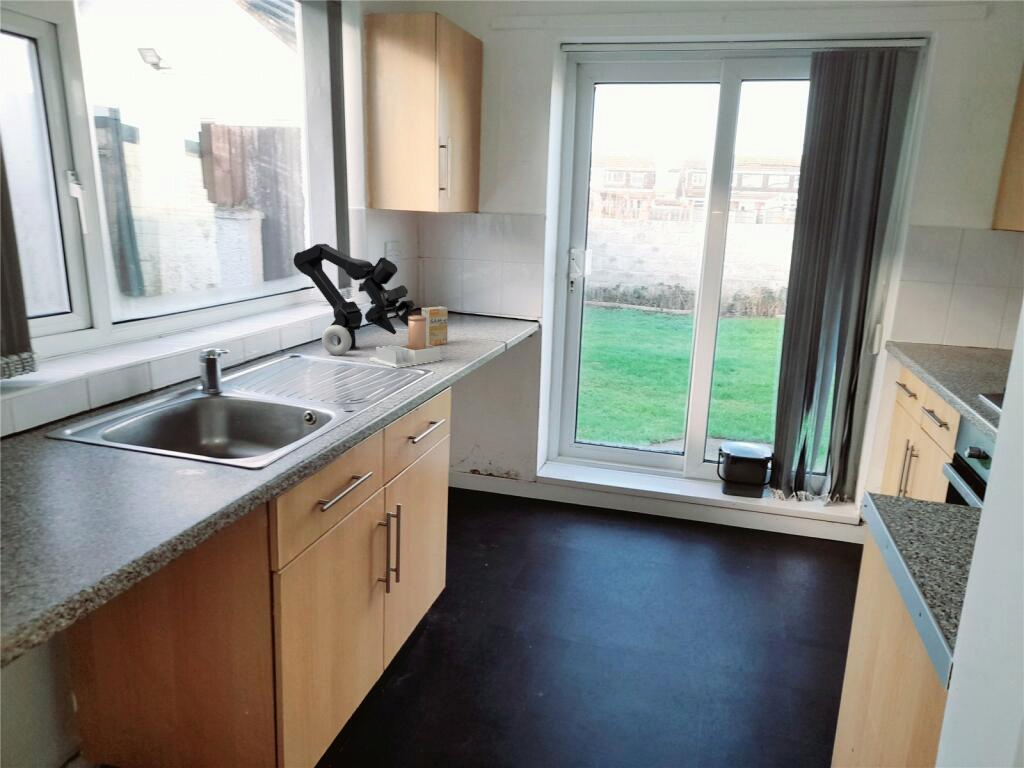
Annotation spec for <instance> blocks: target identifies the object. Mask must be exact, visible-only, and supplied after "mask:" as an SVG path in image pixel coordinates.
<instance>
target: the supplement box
mask: <svg viewBox="0 0 1024 768" xmlns="http://www.w3.org/2000/svg"><path fill="white" fill-rule="evenodd" d="M448 311H449V310H448V307H446V306H431V307H421V316H426V344H429V345H433V346H439V345H447V344H448V324H449V323H448V316H449V315H448Z"/></svg>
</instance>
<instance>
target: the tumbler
mask: <svg viewBox="0 0 1024 768" xmlns="http://www.w3.org/2000/svg"><path fill="white" fill-rule="evenodd" d="M407 328H408V330H407V331H408V332H407V333H408V335H407V336H408V341H407V342H408V343H407V344H408V349H411V350H414V351H416V350H422V349H426V316H422V315H417V314H416V315H415V314H414V315H412V316H409V317H408V326H407Z"/></svg>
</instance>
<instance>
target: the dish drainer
mask: <svg viewBox="0 0 1024 768" xmlns="http://www.w3.org/2000/svg"><path fill="white" fill-rule="evenodd" d="M375 348H376V356H373V357H369V361H370V360H371V361H375V362H378V363H383V364H386V365H390V366H394V367H402V366H409V365H414V364H420V363H425V362H431V361H437V362H440V361H439V360H442V361H443V357H441V356H440V346H438V345H429V344H426V349H422V350H416V351H414V350H411V349H408V343H406V344H403V345H396V346H395V345H390V344H388V345H387V346H385V345H382V346H381V347H380V346H376V347H375ZM371 361H370V362H371ZM378 363H377V364H378ZM431 363H432V362H431Z"/></svg>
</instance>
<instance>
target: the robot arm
mask: <svg viewBox="0 0 1024 768" xmlns="http://www.w3.org/2000/svg"><path fill="white" fill-rule="evenodd" d="M324 260H325V261H327V262H329V263H330V264H334V265H335V266H336V267H338V268H341V269H343V270H344V272H345V273H346V275H347V276H348V277H349V278H351V279H352V280H354V281H362V280H364V281H363V282H360V283H359V285H358V292H359V293H362V292H365V293H366V294H367V296H368V297H369V298H370V300H371V301H370V304H371V305H372V306H371V307H370V308H369V309H368V310H367V312H366V313H365V314H364V319H365V320H366V322H367V323H368V324H372V325H375V326H377V327H379V328H381V329H383V330H385V331H387V332H389V333H390V334H392V335H396V333H397V330H396V329H395V327H394V325H393V323H392V321H390V319H389V315H391V314H395V315H396V316H397V317H398V320H400V321H401V322H402V323H403V324H404V325H405V326H407V327H408V317H409V316H413V315H412V312H413V309H414V307H415V305H416V304H415V303H414V301H413V300H412V299H405V300H401V299H402V298H407V296H408V293H409V290H408V289H407V287H406V286H405V285H399V286H397V287H394V288H392V289H386V287H385V286H384V285H388V283H389V282H390V281H391V280H392V279H393V277H395V275H396V274H397V273H398V267H397V265H396V263H394V262H393V261H391V260H388V259H387V258H386V257H385V256H384V257H379V259H378V260H377V262H376V264H375V265H374V264H373V263H372V262H370V261H367V260H364V259H361V258H360V259H359V258H354V257H352V256H349V255H347V254H346V253H343V252H341V251H340V250H337V249H336V248H333V247H332V246H330V245H329V244H327V243H316V244H315V245H313V246H311V247H309V248H306V249H305V250H303V251H299V252H296V253H295V255H294V257H293V264H294V266H295V268H296V269H297V270H298V271H299V272H300V273H302V274H303V275H305V276H307V277H309V278H310V279H311V281H312V282H313V283H314V285H315V286H316V287H317V289H318V290H319V291H320V293H321V294H322V295H323V297H324V298H325V300H326V301H327V302H328V304H329V306H331V308H332V309H333V317H334V320H333V321H332V323H331V324H330V326H332V325H339V326H342V327H344V328H345V329H346V330H347V331H348V332H349V334H350V336H351V340H352V342H351V347H350V349H349V350H348V351H350V350H351V349H352V350H356V349H357V350H358V349H360V346H357V341H356V331H357V330H360V329H361V324H362V322H363V312H361V311H362V309H361V308H359V306H358V305H357V303H356V301H353V300H352V301H347V300H346V299H345V298H344V296H343V295H342V294H341V293H340V291H339V290H338V288H337V287H336V285H334V283H333V281H332V280H331V279H330V277H329V276H328V275H327V273H326V272H325V271H324V269H323V261H324ZM400 300H401V301H400ZM397 304H398V305H397ZM336 339H337V341H336V343H337V344H336V345H340V343H341V339H340V337H339V336H337V335H336Z"/></svg>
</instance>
